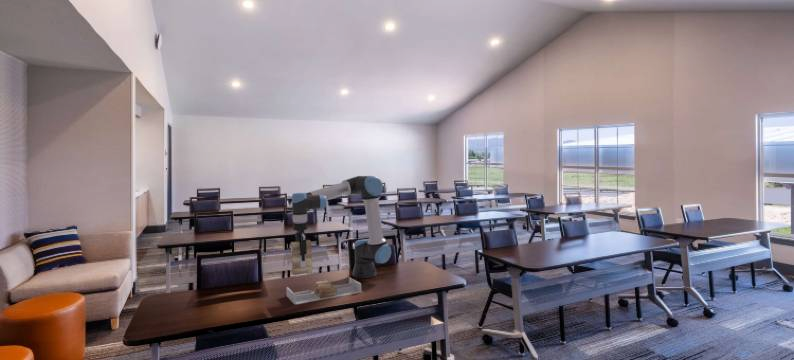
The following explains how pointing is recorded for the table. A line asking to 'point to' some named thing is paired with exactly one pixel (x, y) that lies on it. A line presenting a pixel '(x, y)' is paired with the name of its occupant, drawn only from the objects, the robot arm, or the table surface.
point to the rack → (311, 296)
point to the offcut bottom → (324, 294)
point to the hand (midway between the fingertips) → (302, 265)
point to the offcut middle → (326, 290)
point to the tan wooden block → (296, 258)
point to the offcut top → (323, 285)
